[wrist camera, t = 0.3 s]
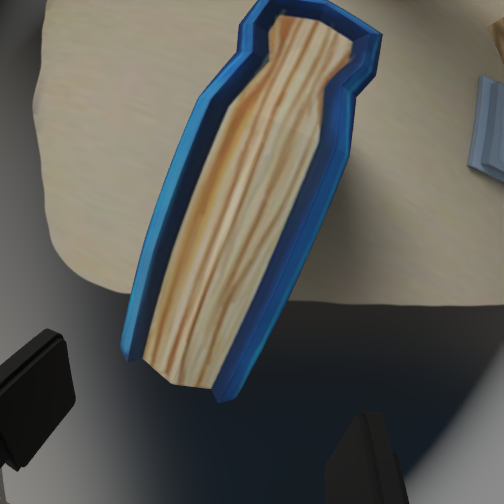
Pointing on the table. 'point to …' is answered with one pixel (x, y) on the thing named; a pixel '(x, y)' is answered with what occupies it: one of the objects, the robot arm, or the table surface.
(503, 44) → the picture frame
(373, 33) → the book
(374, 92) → the table surface
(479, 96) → the blue tray
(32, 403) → the robot arm
